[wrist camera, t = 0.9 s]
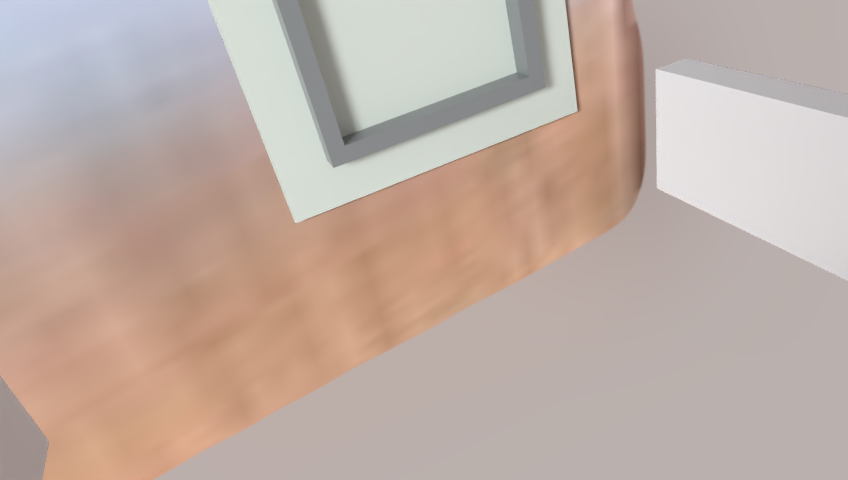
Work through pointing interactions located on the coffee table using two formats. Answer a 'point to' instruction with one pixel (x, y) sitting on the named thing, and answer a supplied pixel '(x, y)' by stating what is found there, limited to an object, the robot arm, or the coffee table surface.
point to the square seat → (391, 85)
